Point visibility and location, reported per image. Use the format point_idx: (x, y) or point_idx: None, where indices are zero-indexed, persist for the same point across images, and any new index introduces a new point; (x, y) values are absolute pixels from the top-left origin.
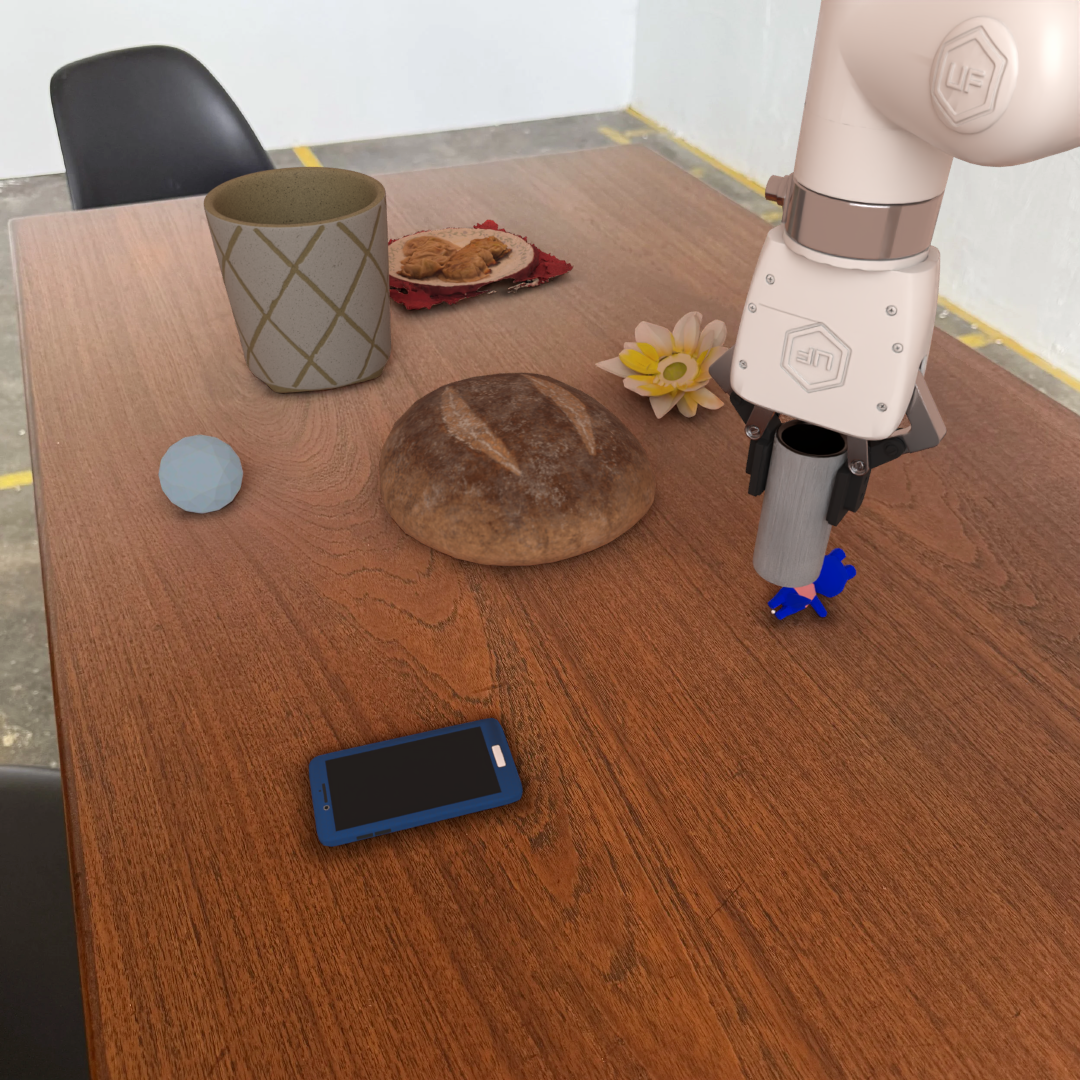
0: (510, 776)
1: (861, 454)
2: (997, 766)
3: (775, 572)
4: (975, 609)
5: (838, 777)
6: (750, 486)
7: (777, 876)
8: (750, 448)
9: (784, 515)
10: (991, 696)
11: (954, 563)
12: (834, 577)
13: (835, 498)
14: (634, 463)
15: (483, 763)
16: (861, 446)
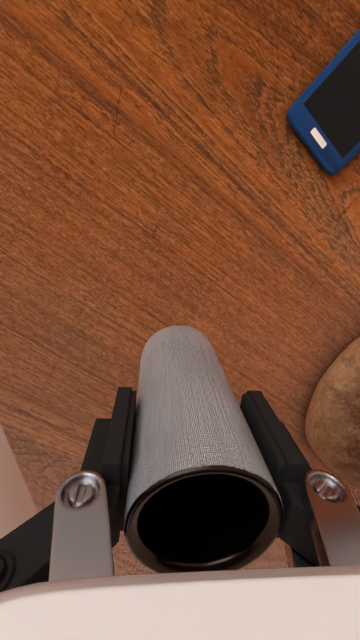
0: (302, 122)
1: (70, 525)
2: (9, 330)
3: (181, 330)
4: (74, 449)
5: (94, 265)
6: (262, 398)
7: (94, 156)
8: (301, 456)
9: (194, 373)
10: (36, 384)
11: None
12: None
13: (122, 417)
14: (341, 449)
15: (326, 123)
16: (68, 550)
